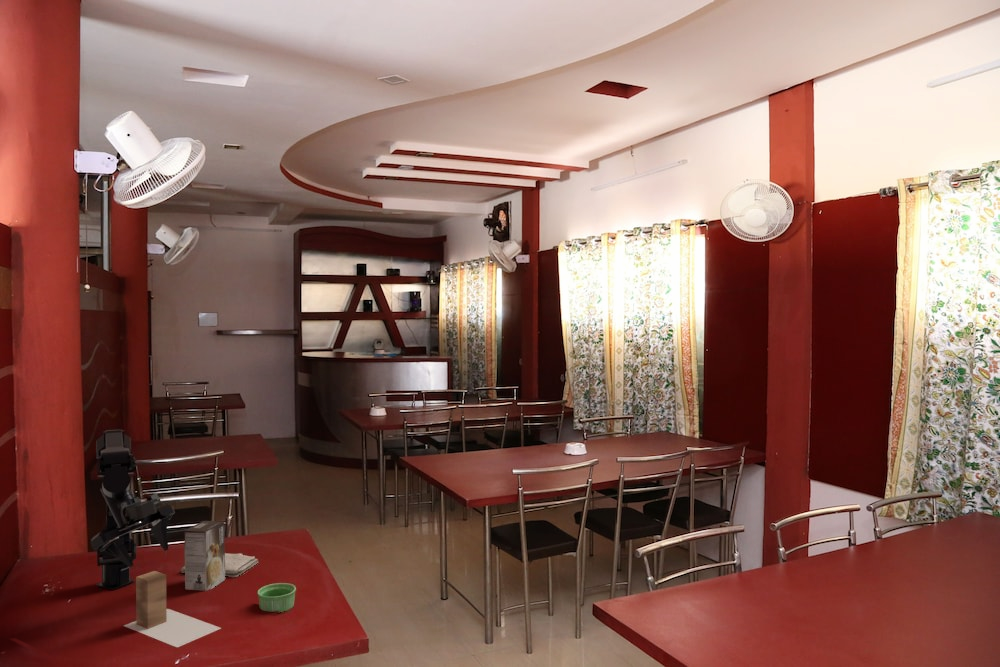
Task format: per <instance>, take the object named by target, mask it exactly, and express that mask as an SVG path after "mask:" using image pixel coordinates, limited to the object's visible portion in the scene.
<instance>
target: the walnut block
mask: <svg viewBox="0 0 1000 667" xmlns="http://www.w3.org/2000/svg"><path fill="white" fill-rule="evenodd" d="M135 593H136V595H135V596H136V597H135V600H136V602H135V603H136V604H135V605H136V606H135V607H136V608H135V612H136V614H135V615H136V617H135V618H136V620H135V621H136V624H137V625H139V626H142V627H144V628H147V629H150V628H152V627H155V626H157V625H160V624H162V623H165V622H167V612H166V609H167V574H165V573H162V572H159V571H156V570H152V571H150V572H147V573H144V574H141V575H138V576H136V577H135Z"/></svg>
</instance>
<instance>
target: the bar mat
mask: <svg viewBox="0 0 1000 667" xmlns="http://www.w3.org/2000/svg"><path fill="white" fill-rule="evenodd" d="M166 612H167V622H165V623H162V624H160V625H157V626H155V627H152V628H150V629H147V628H144V627H142V626H139V625H137V624H136V620H135V621H132V622H129V623H126V624H125V625H123V627H125V628H128V629H130V630H133V631H135V632H137V633H140V634H143V635H146V636H147V637H149V638H152V639H154V640H155V639H156V640H157V641H160V642H162V643H164V644H167V645H169V646H172V647H175V648H179V647H182V646H184V645H187V644H189V643H191V642H193V641H195V640H198V639H200V638H203V637H205V636H208V635H210V634H211V633H215V632H216V631H218V630H221V629H222V628H221V627H220V626H216V625H214V624H212V623H210V622H209V623H208V622H205V621H203V620H200V619H197V618H194V617H192V616H190V615H187V614H185V613H184V614H183V613H181V612H178V611H175V610H173V609H170V608H166Z"/></svg>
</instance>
